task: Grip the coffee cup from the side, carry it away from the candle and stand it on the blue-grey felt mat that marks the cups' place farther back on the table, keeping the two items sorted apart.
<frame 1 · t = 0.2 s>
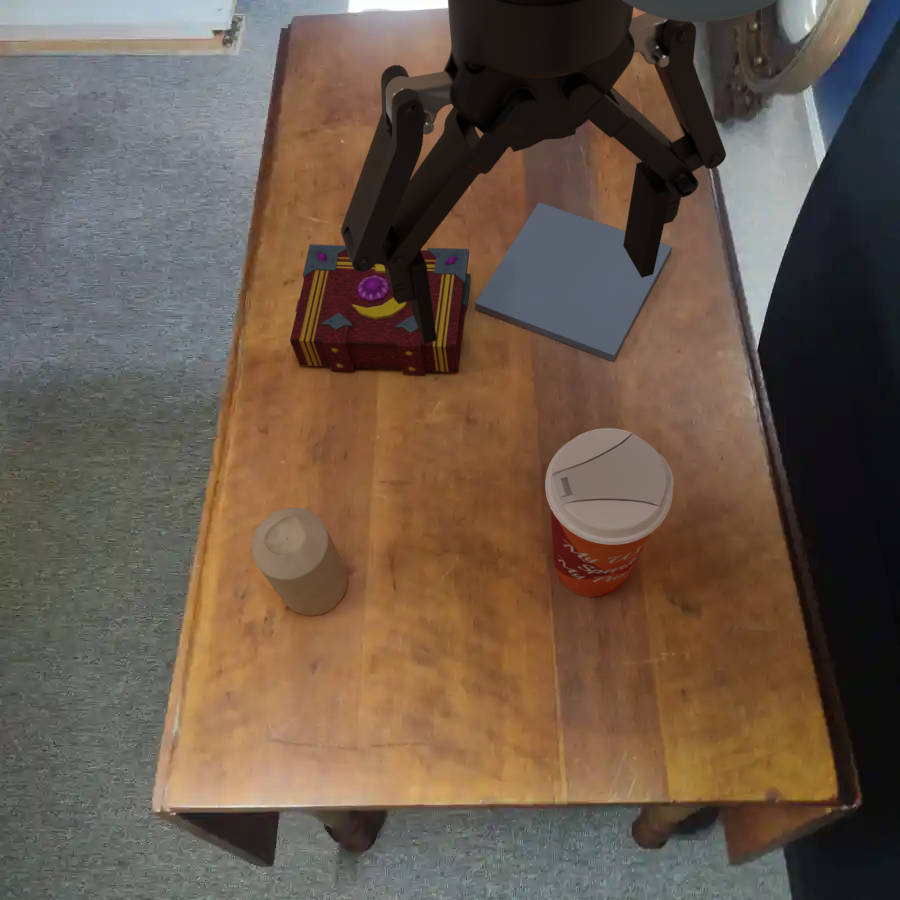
hand: (532, 292, 50), 24 cm above the table, tool pointing down, fingers open, 13 cm apart
candle: (314, 584, 68), on the table
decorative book: (381, 325, 80), on the table
cup mat: (573, 281, 81), on the table
coffee cup: (592, 562, 67), on the table
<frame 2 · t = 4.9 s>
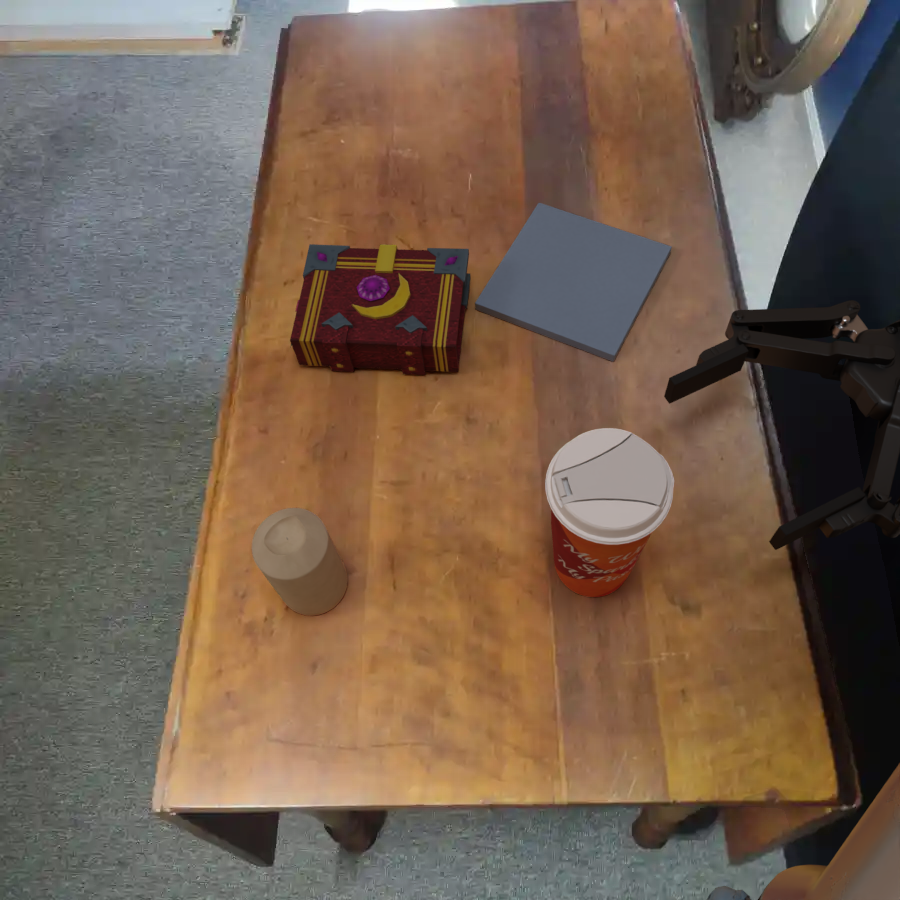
hand: (719, 461, 61), 8 cm above the table, tool horizontal, fingers open, 13 cm apart
nothing on the table moved.
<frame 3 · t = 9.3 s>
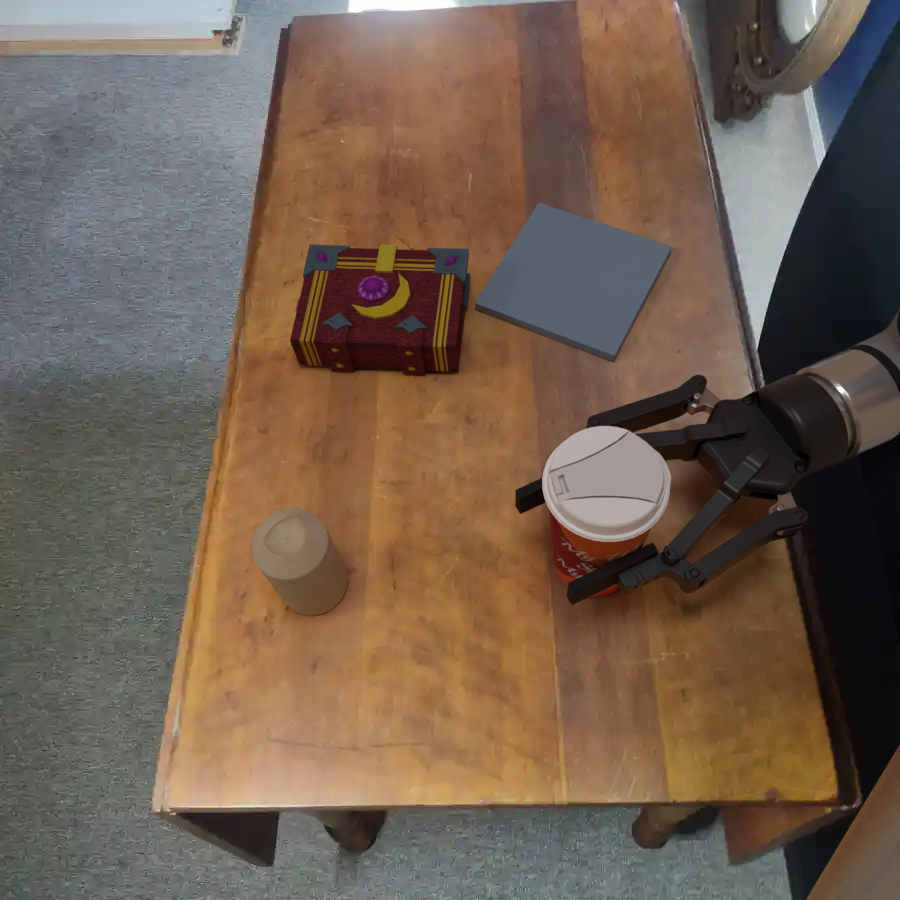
hand: (543, 546, 59), 8 cm above the table, tool horizontal, fingers closed on coffee cup, 7 cm apart
coffee cup: (592, 562, 67), on the table, touching gripper
everything else where it was.
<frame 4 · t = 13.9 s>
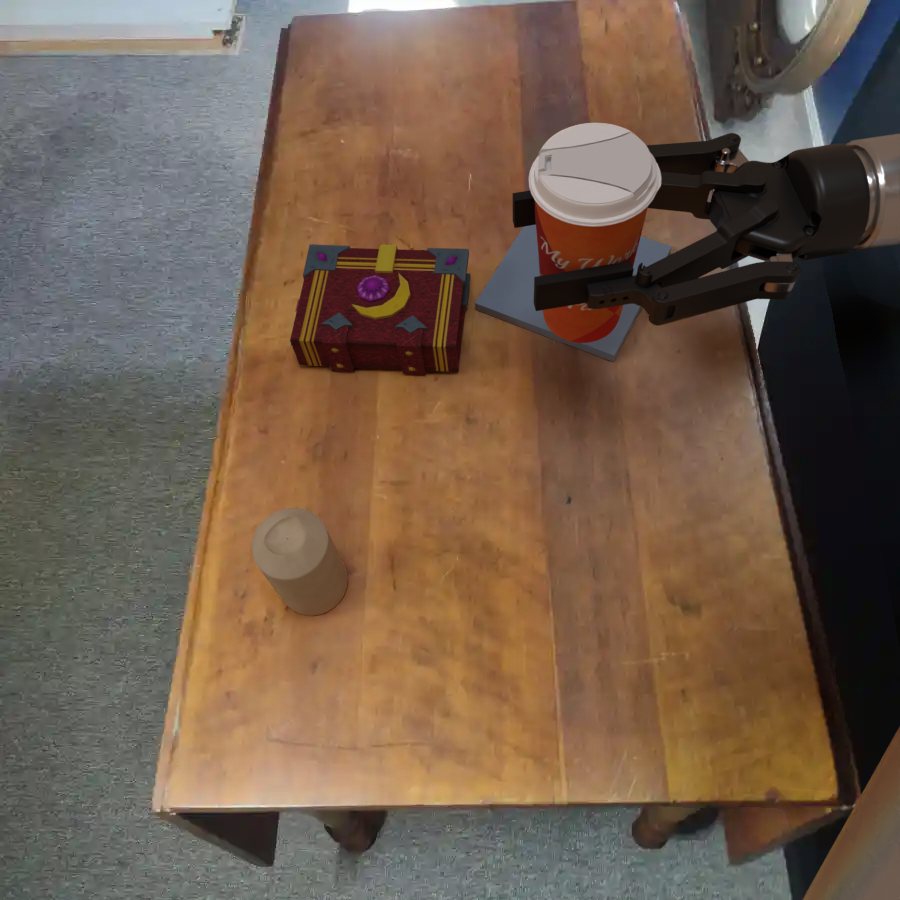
hand: (524, 251, 59), 18 cm above the table, tool horizontal, fingers closed on coffee cup, 7 cm apart
coffee cup: (582, 314, 66), point 10 cm above the table, touching gripper
everything else where it was.
when the fingers open (9 cm above the table, at t = 18.6 s): coffee cup stays where it is, resting on cup mat.
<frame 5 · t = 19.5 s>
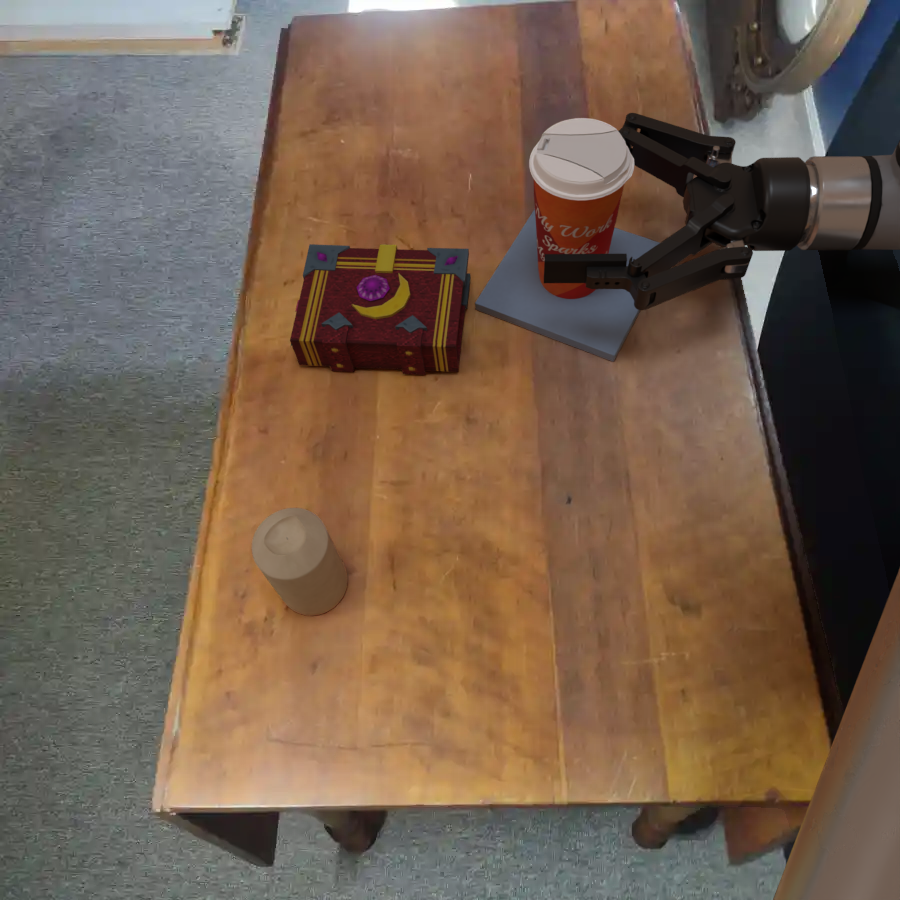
hand: (543, 207, 72), 10 cm above the table, tool horizontal, fingers open, 13 cm apart
coffee cup: (571, 275, 80), point 1 cm above the table, touching cup mat
everything else where it was.
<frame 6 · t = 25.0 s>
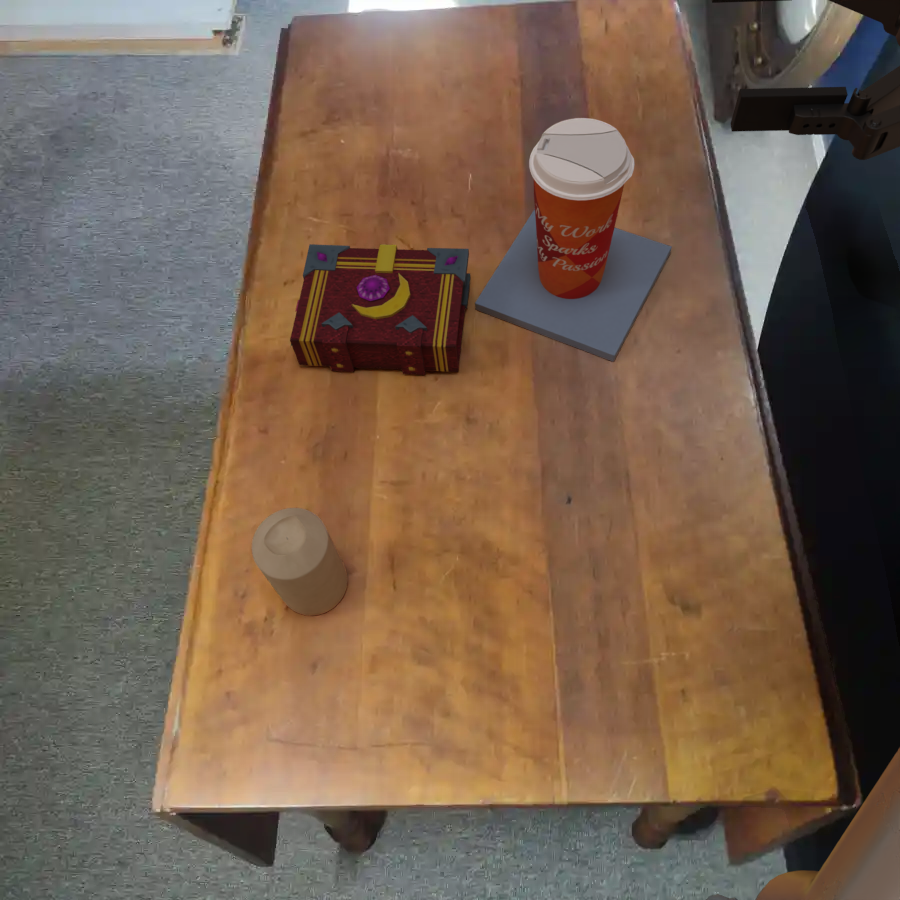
hand: (724, 42, 58), 25 cm above the table, tool horizontal, fingers open, 13 cm apart
nothing on the table moved.
at the end: coffee cup inside the target area on the cup mat (0.4 cm from its centre), point 0.8 cm above the cup mat's base; coffee cup tilted 0° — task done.
